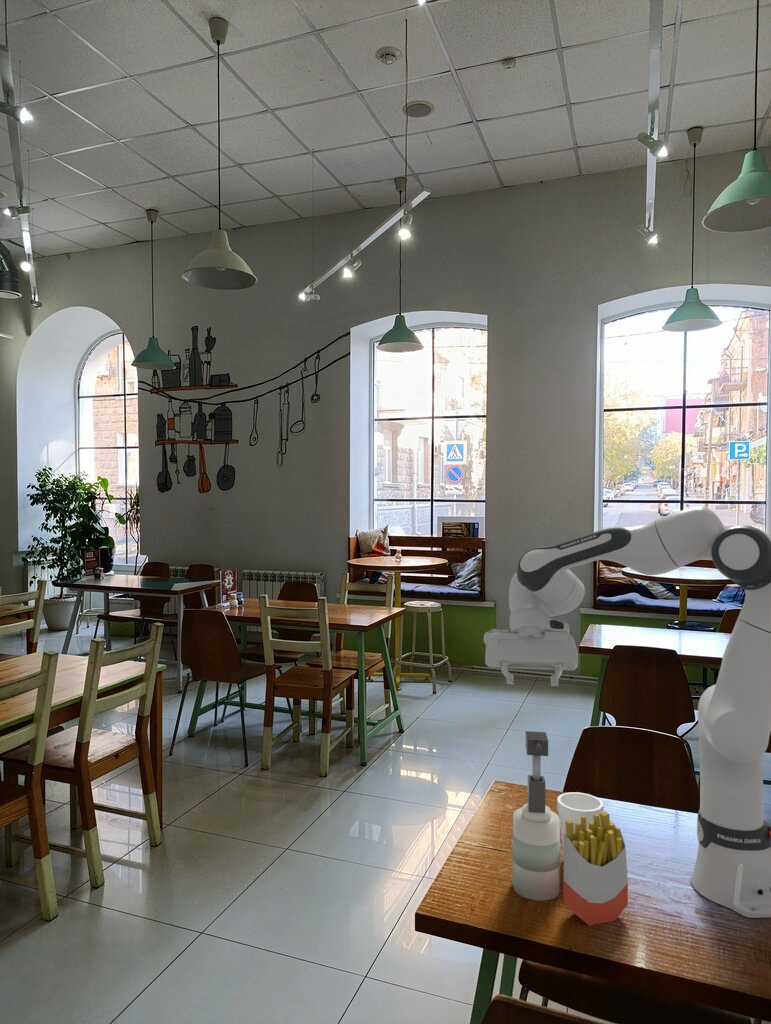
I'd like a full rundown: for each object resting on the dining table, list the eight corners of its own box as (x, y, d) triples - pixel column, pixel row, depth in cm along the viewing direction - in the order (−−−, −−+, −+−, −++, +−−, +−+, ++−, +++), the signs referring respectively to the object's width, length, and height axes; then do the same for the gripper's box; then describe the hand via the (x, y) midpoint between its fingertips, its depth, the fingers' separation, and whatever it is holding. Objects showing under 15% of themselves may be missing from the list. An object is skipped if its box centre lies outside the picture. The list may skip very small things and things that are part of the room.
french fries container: (629, 919, 121) (629, 820, 121) (577, 929, 118) (577, 828, 118) (613, 905, 126) (613, 809, 126) (563, 914, 123) (563, 817, 123)
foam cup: (605, 877, 135) (605, 813, 135) (558, 872, 137) (558, 809, 137) (600, 853, 145) (600, 794, 145) (556, 849, 146) (556, 790, 146)
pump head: (545, 778, 134) (545, 732, 134) (550, 796, 125) (550, 747, 125) (525, 776, 134) (525, 731, 134) (528, 795, 125) (528, 746, 125)
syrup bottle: (557, 876, 135) (557, 771, 135) (562, 903, 126) (563, 789, 126) (511, 873, 137) (511, 768, 137) (513, 898, 128) (513, 786, 128)
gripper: (483, 621, 152) (483, 674, 142) (575, 623, 149) (582, 677, 140) (483, 637, 157) (483, 689, 147) (572, 639, 154) (578, 693, 144)
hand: (532, 683), depth 143 cm, fingers open, 8 cm apart
